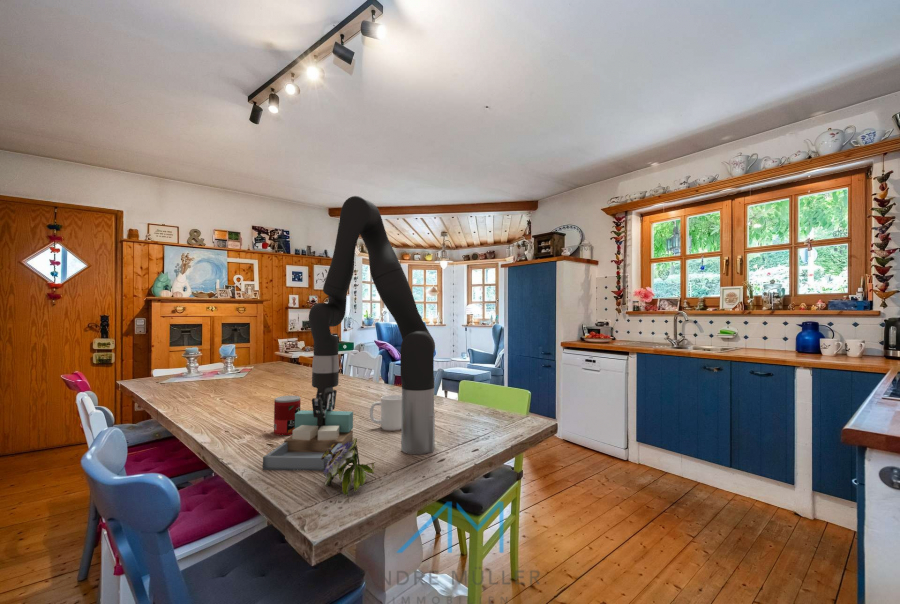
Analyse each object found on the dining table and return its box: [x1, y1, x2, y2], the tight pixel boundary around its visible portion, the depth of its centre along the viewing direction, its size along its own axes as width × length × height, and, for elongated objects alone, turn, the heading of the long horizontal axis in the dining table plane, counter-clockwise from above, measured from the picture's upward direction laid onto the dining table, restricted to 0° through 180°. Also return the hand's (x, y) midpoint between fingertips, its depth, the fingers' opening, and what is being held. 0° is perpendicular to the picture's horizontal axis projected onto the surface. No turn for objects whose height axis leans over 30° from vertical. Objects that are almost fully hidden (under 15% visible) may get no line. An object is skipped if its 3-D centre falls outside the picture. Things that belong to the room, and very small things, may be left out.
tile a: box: [318, 425, 340, 440], centre depth 107 cm, size 5×5×2 cm
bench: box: [283, 429, 354, 452], centre depth 109 cm, size 16×10×4 cm, turn 88°
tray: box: [262, 441, 342, 472], centre depth 98 cm, size 16×11×3 cm
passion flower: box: [321, 438, 376, 497], centre depth 85 cm, size 11×11×12 cm
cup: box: [369, 394, 402, 432], centre depth 129 cm, size 8×12×10 cm
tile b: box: [292, 425, 318, 440], centre depth 107 cm, size 5×5×2 cm
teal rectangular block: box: [295, 409, 354, 432], centre depth 113 cm, size 16×4×5 cm, turn 87°
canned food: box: [273, 395, 302, 437], centre depth 123 cm, size 8×8×11 cm
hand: (324, 428), depth 113 cm, fingers closed on teal rectangular block, 4 cm apart
